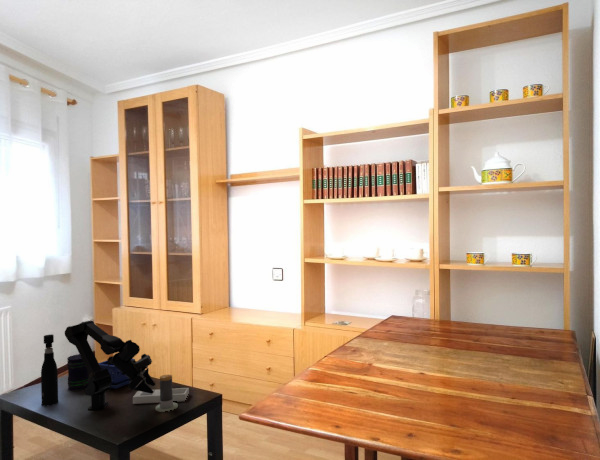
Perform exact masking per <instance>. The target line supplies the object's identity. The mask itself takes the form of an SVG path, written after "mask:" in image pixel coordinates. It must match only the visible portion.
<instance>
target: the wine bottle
mask: <svg viewBox="0 0 600 460" xmlns="http://www.w3.org/2000/svg"><path fill="white" fill-rule="evenodd" d="M54 337H55V336H54V334H44V335H43V344H45V346H44V347H45V349H44V353H43V358H44V359H43V361H42V362H43V363H42V365H41V370H40V380H41V381H40V386H41V387H40V388H41V389H40V391H41V394H40V395H41V406H43V405H45V406H44V407H48V406H47V405H49V406H53V404H54V405H56V404H58V403H59V378H58V377H59V375H58V374H59V373H58V366H57V362H56V359H55V352H54V348H53V343H54V342H55V341H54Z"/></svg>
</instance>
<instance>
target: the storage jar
mask: <svg viewBox="0 0 600 460" xmlns="http://www.w3.org/2000/svg"><path fill="white" fill-rule="evenodd" d="M67 371H68V373H67V375H68V377H67V387H68V389H67V390H68V391H71V392H72V391H73V392H75V391H81V390H85V389H86V388H87V387H88V385H89V383H88V379H89V373H88V371H87V368H86V366H85V364H84V362H83V360H82V358H81V356H80V354H79V353H78V354H73V355H70V356H68V357H67Z"/></svg>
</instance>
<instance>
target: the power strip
mask: <svg viewBox="0 0 600 460" xmlns="http://www.w3.org/2000/svg"><path fill="white" fill-rule="evenodd" d="M152 390H153V393H152V394H151V393H146V392H142V391H136V392H135V394H134V395H133V396H132V404H133V405H138V404H139V405H140V404H155V403H158V404H160V388H159V389H152ZM172 393H173V401H177V402H186V401H187V399H188V397H189V395H190V389H189V387H179V388H172ZM188 394H189V395H188ZM187 396H188V397H187ZM186 398H187V399H186ZM185 400H186V401H185Z"/></svg>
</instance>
